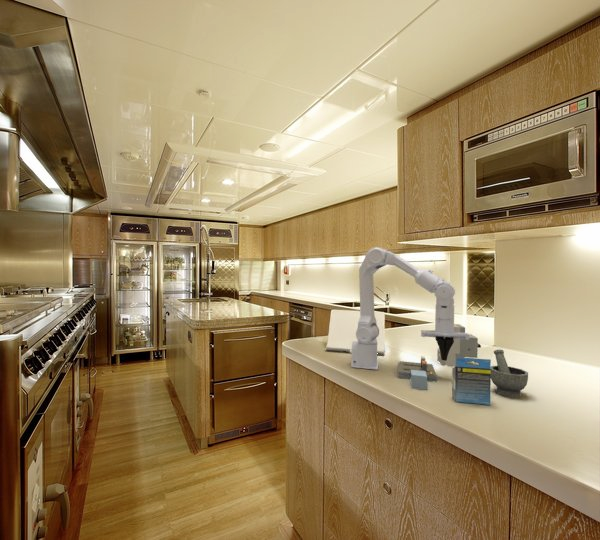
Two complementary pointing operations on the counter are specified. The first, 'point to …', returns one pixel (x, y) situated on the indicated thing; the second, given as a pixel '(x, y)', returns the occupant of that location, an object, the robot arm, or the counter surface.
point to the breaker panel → (406, 368)
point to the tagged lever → (424, 365)
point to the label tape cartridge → (471, 381)
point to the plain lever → (422, 359)
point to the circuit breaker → (460, 348)
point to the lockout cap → (418, 379)
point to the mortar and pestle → (507, 377)
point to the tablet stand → (351, 330)
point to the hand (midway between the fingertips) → (444, 359)
